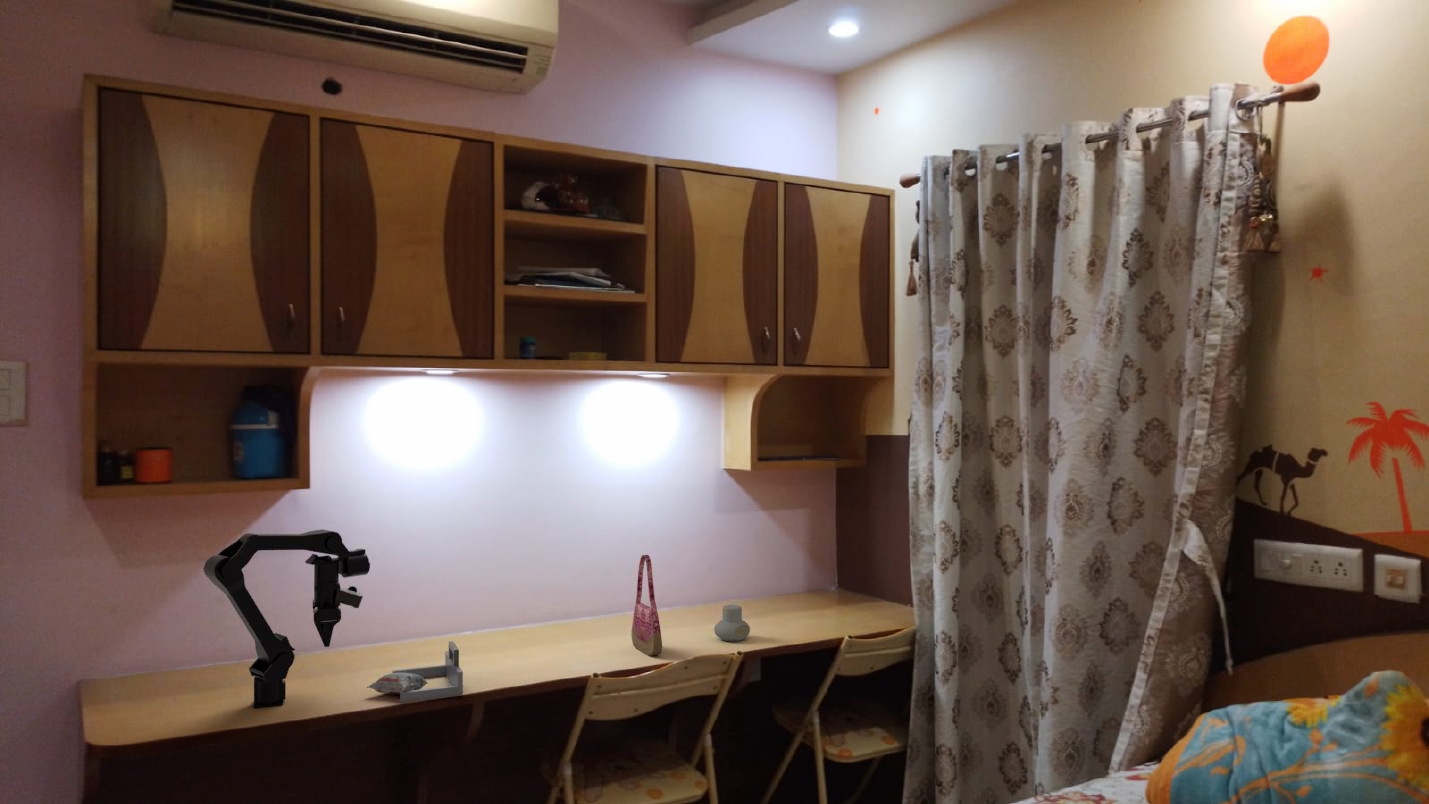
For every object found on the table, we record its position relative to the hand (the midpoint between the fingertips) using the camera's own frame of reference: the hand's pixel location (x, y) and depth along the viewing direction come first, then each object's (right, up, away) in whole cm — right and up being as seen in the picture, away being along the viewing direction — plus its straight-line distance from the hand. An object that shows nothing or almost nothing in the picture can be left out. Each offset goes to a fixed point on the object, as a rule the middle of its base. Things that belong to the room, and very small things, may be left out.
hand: (326, 642), depth 239 cm
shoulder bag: (+78, -12, +37) cm, 87 cm away
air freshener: (+103, -12, +52) cm, 116 cm away
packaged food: (+16, -13, -5) cm, 21 cm away
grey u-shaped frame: (+24, -12, +2) cm, 27 cm away
